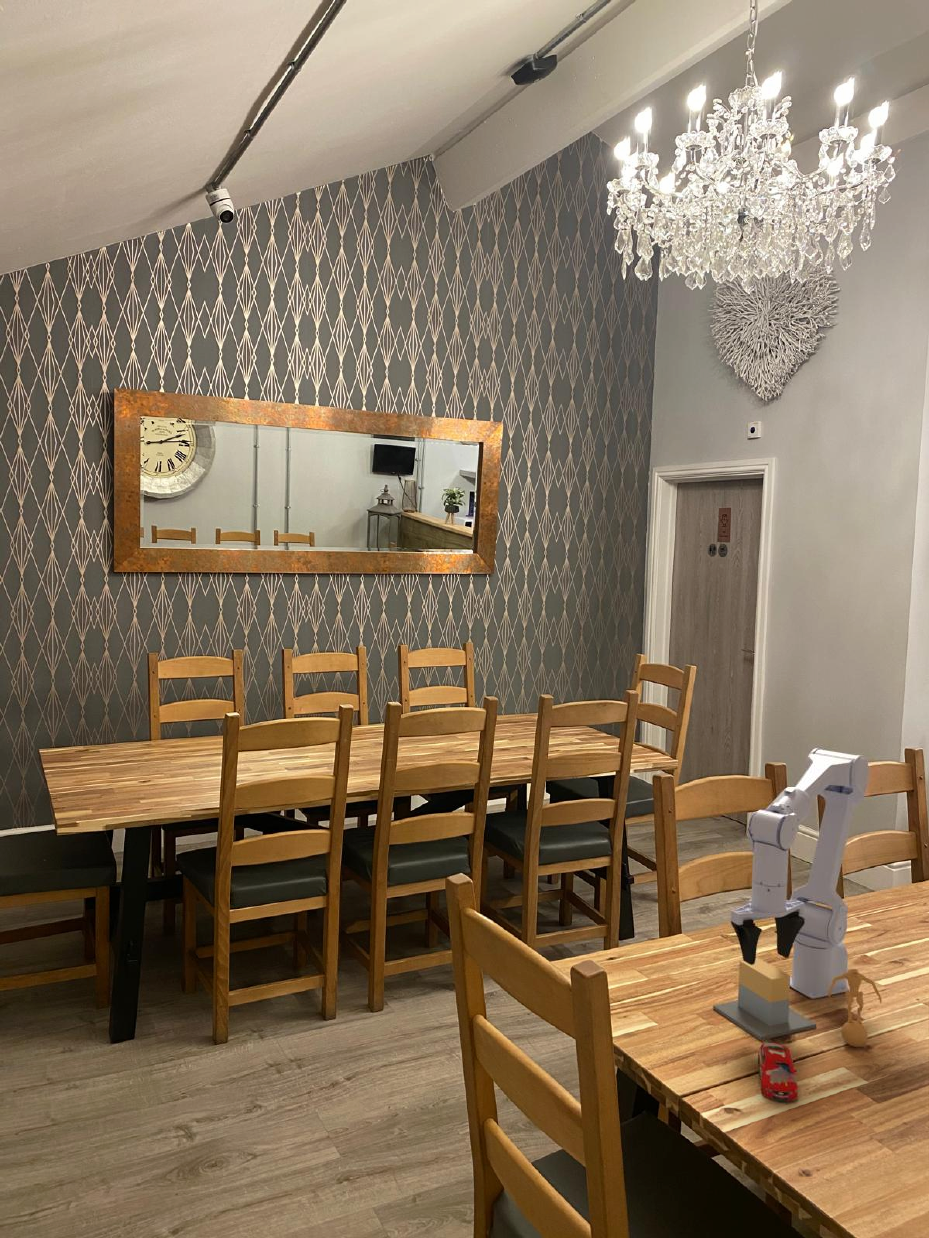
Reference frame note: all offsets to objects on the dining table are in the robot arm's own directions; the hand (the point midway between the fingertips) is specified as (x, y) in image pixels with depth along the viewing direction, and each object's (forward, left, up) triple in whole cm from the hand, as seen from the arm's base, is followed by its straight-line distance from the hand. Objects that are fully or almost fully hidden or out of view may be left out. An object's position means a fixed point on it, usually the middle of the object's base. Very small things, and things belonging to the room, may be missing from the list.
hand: (766, 958), depth 163 cm
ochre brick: (0, 0, -6) cm, 6 cm away
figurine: (-8, +12, -11) cm, 18 cm away
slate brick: (0, 0, -10) cm, 10 cm away
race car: (+12, +16, -11) cm, 23 cm away
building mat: (0, 0, -10) cm, 10 cm away
